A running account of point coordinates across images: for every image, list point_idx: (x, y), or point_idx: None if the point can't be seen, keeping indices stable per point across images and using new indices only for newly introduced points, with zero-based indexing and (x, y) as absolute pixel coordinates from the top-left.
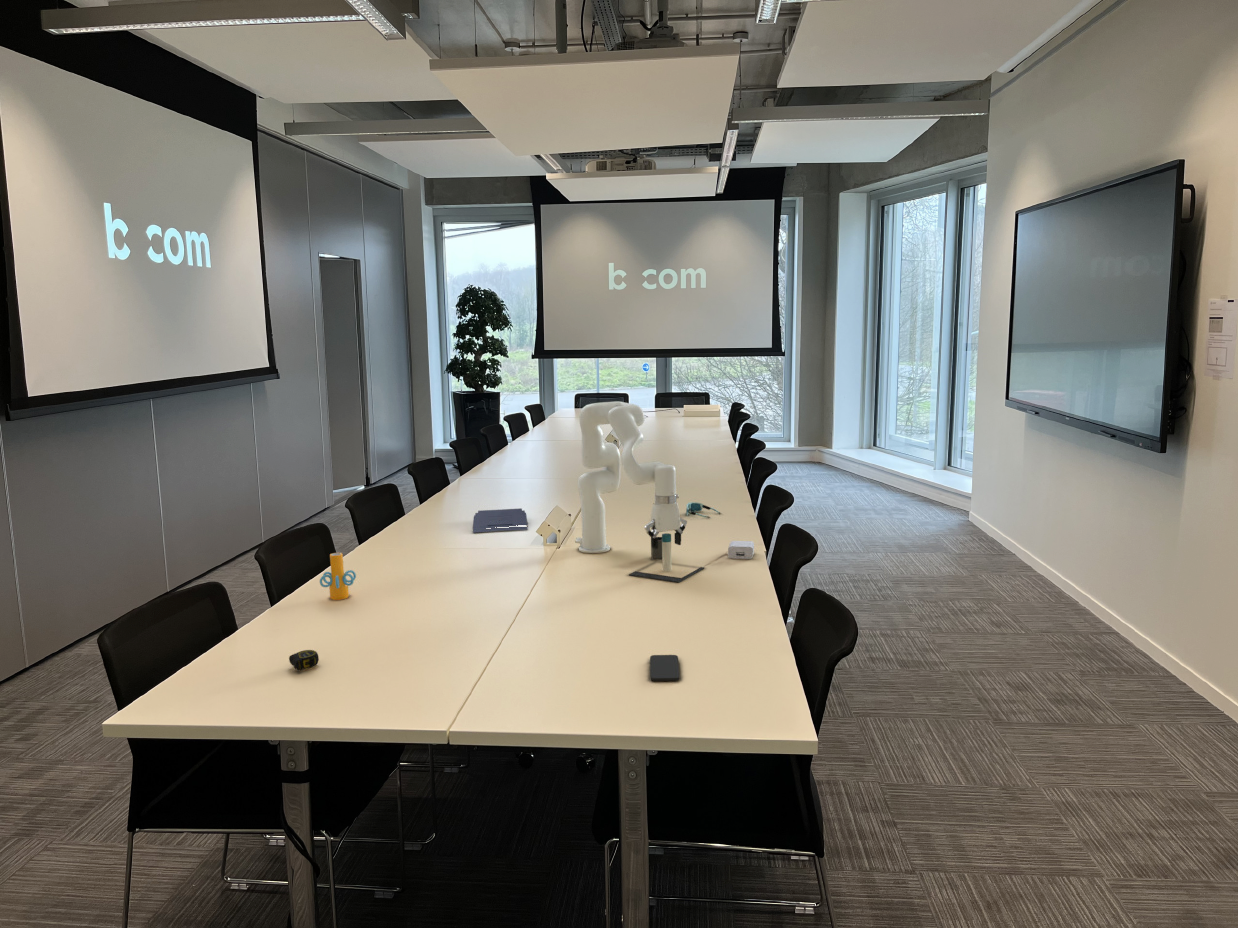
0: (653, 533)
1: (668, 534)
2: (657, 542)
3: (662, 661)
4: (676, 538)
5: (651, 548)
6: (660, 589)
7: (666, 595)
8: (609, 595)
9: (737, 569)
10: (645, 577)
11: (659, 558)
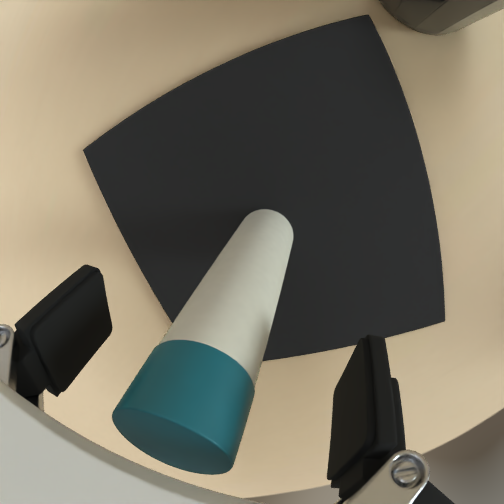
0: (7, 372)
1: (190, 460)
2: (81, 366)
3: None
4: (347, 413)
5: None
6: (120, 355)
7: (118, 386)
8: (11, 282)
9: (477, 390)
10: (123, 232)
11: (401, 15)
